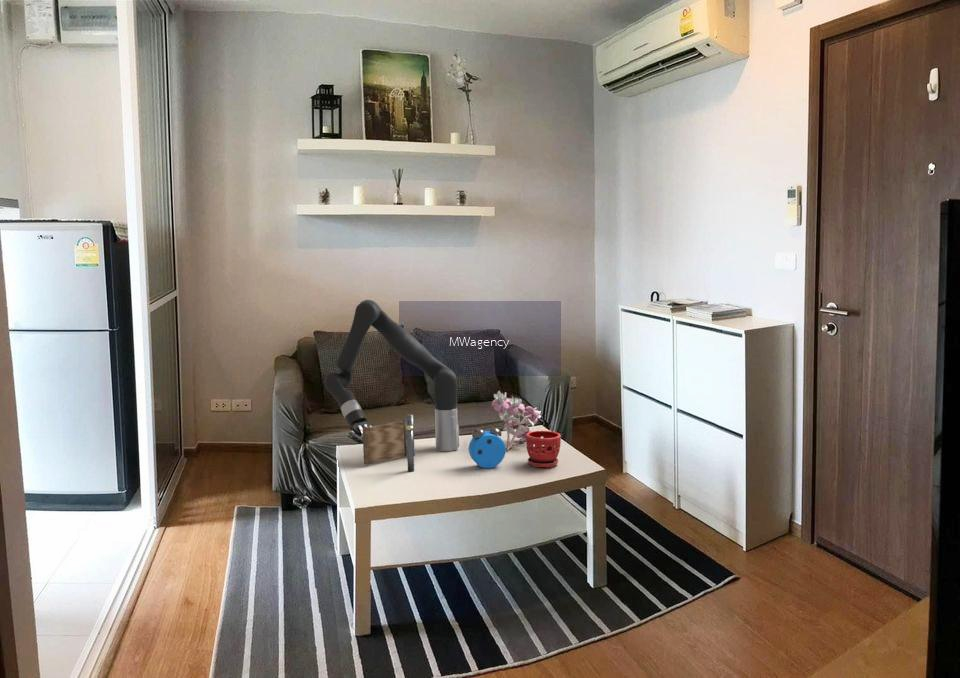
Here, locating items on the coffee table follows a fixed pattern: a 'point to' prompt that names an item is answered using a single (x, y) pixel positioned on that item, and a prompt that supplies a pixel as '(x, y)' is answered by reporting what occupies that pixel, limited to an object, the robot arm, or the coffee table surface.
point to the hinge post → (411, 422)
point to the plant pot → (543, 448)
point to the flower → (504, 407)
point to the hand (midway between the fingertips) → (371, 450)
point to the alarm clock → (487, 447)
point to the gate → (384, 442)
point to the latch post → (410, 448)
